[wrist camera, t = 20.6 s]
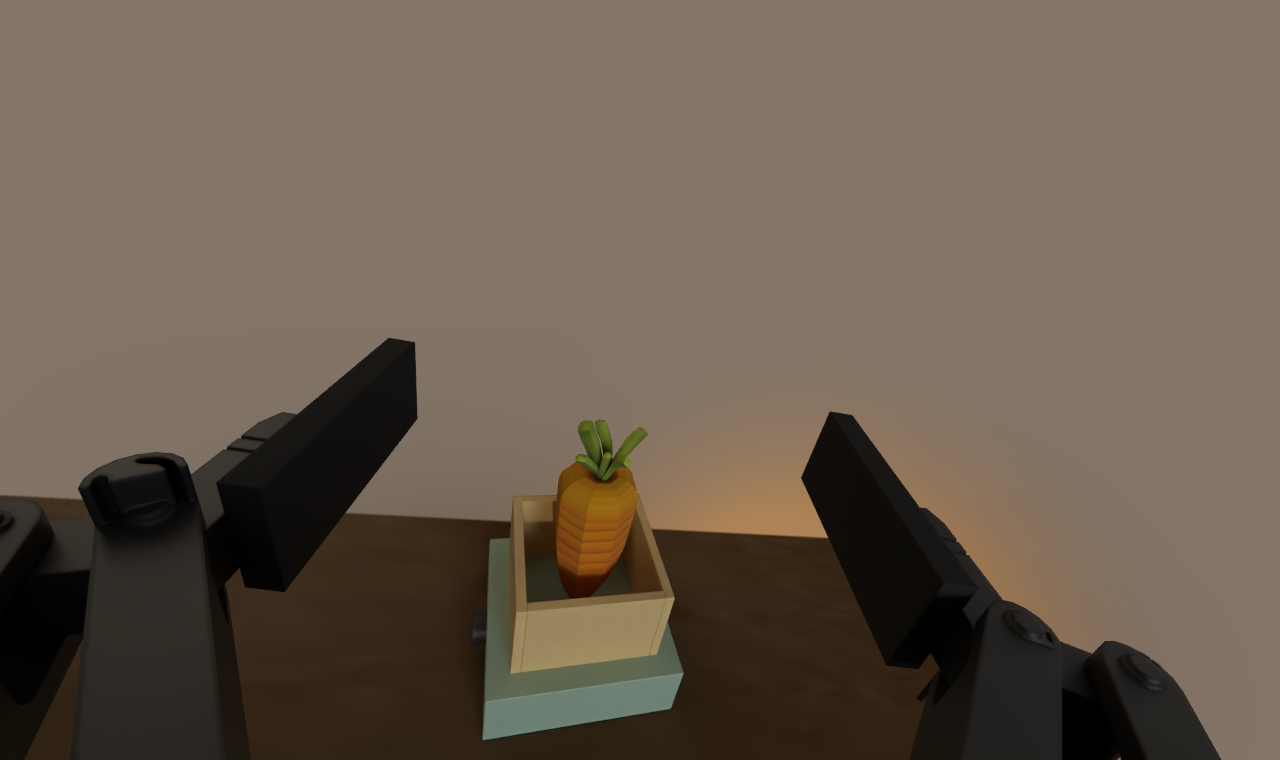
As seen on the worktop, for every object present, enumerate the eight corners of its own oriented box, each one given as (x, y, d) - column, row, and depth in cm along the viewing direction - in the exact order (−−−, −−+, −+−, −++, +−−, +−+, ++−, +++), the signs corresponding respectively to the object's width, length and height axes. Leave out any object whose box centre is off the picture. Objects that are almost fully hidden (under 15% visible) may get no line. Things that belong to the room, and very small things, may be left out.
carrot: (620, 581, 36) (660, 410, 29) (603, 642, 31) (645, 457, 24) (556, 563, 36) (580, 390, 29) (530, 620, 32) (552, 433, 25)
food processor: (466, 743, 28) (469, 642, 24) (476, 575, 39) (479, 483, 34) (670, 709, 32) (705, 616, 28) (631, 564, 42) (651, 480, 38)
